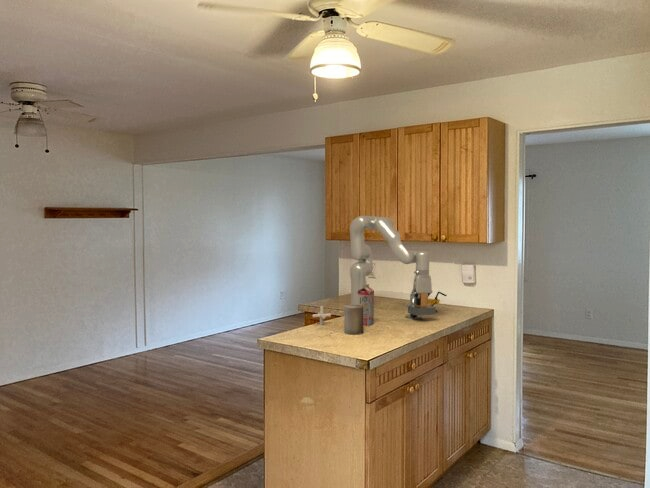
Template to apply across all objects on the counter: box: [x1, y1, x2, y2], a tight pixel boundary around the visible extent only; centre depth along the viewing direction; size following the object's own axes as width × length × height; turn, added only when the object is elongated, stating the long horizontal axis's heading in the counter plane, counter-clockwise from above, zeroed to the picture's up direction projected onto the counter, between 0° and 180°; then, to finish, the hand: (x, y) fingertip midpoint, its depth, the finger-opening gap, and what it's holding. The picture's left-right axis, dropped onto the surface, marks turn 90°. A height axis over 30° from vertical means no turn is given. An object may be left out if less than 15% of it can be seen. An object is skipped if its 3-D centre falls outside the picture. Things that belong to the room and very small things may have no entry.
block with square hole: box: [404, 293, 437, 320], centre depth 292 cm, size 12×18×14 cm, turn 24°
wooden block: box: [417, 293, 428, 307], centre depth 288 cm, size 4×4×12 cm
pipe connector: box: [311, 305, 332, 326], centre depth 274 cm, size 10×10×10 cm
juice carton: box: [358, 283, 375, 327], centre depth 274 cm, size 7×7×22 cm
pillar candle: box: [343, 304, 364, 335], centre depth 255 cm, size 10×10×15 cm
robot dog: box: [427, 291, 447, 313], centre depth 315 cm, size 6×18×13 cm, turn 61°
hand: (421, 304), depth 288 cm, fingers closed on wooden block, 3 cm apart
